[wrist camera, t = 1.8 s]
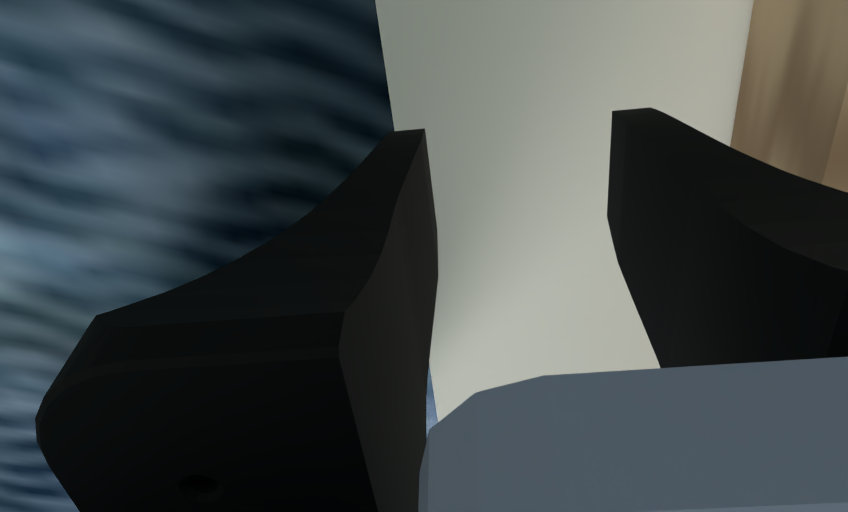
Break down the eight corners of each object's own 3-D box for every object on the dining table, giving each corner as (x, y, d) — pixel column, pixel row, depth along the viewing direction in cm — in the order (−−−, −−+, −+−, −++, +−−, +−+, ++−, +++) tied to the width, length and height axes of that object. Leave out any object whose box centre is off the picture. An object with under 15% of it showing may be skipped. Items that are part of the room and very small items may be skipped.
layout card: (1009, 485, 29) (1017, 495, 29) (452, 510, 31) (452, 520, 31) (1482, -275, 14) (1513, -277, 14) (357, -133, 16) (355, -130, 16)
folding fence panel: (748, 236, 21) (820, 347, 17) (715, 238, 21) (779, 350, 17) (820, -131, 15) (954, -93, 11) (774, -125, 16) (890, -85, 11)
